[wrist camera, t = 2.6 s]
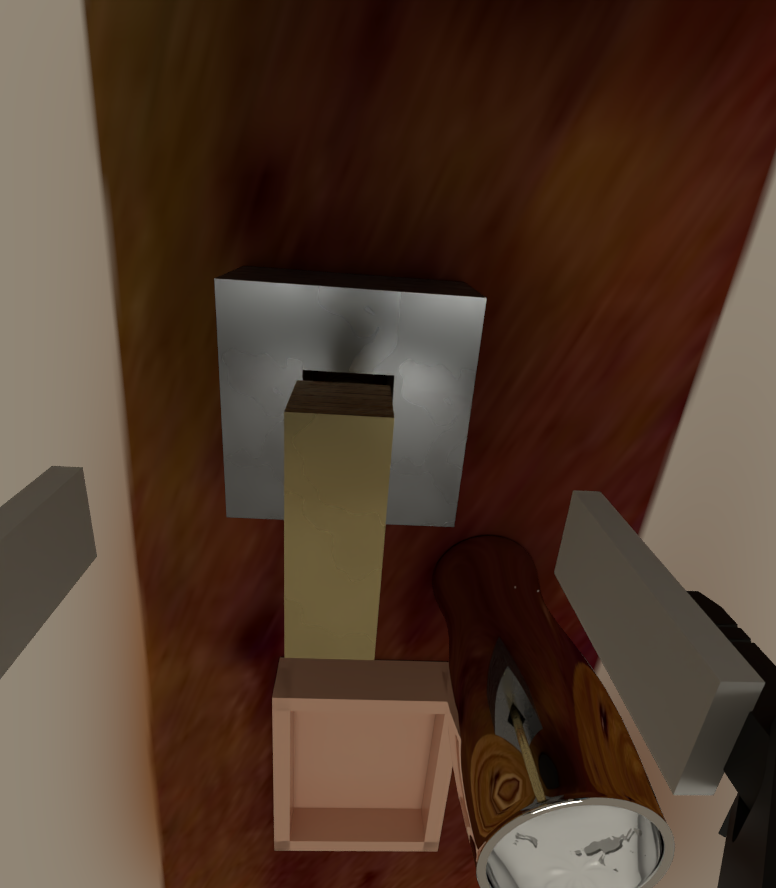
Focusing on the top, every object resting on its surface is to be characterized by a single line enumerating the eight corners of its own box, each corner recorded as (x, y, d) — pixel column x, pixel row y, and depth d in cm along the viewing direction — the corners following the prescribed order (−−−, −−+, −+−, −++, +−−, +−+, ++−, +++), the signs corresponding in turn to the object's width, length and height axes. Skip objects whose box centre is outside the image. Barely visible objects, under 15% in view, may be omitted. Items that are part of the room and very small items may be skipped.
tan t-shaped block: (327, 305, 25) (283, 411, 12) (379, 309, 25) (394, 417, 12) (323, 444, 28) (284, 657, 14) (370, 446, 28) (373, 660, 14)
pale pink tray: (280, 657, 33) (272, 697, 30) (455, 662, 34) (463, 702, 31) (281, 805, 39) (274, 850, 36) (432, 806, 39) (437, 851, 37)
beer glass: (529, 628, 33) (647, 926, 19) (417, 622, 32) (456, 924, 19) (554, 531, 30) (712, 798, 16) (432, 524, 30) (489, 792, 16)
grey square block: (243, 265, 24) (214, 278, 19) (464, 282, 25) (486, 297, 20) (249, 467, 28) (226, 517, 23) (439, 476, 29) (454, 527, 24)
